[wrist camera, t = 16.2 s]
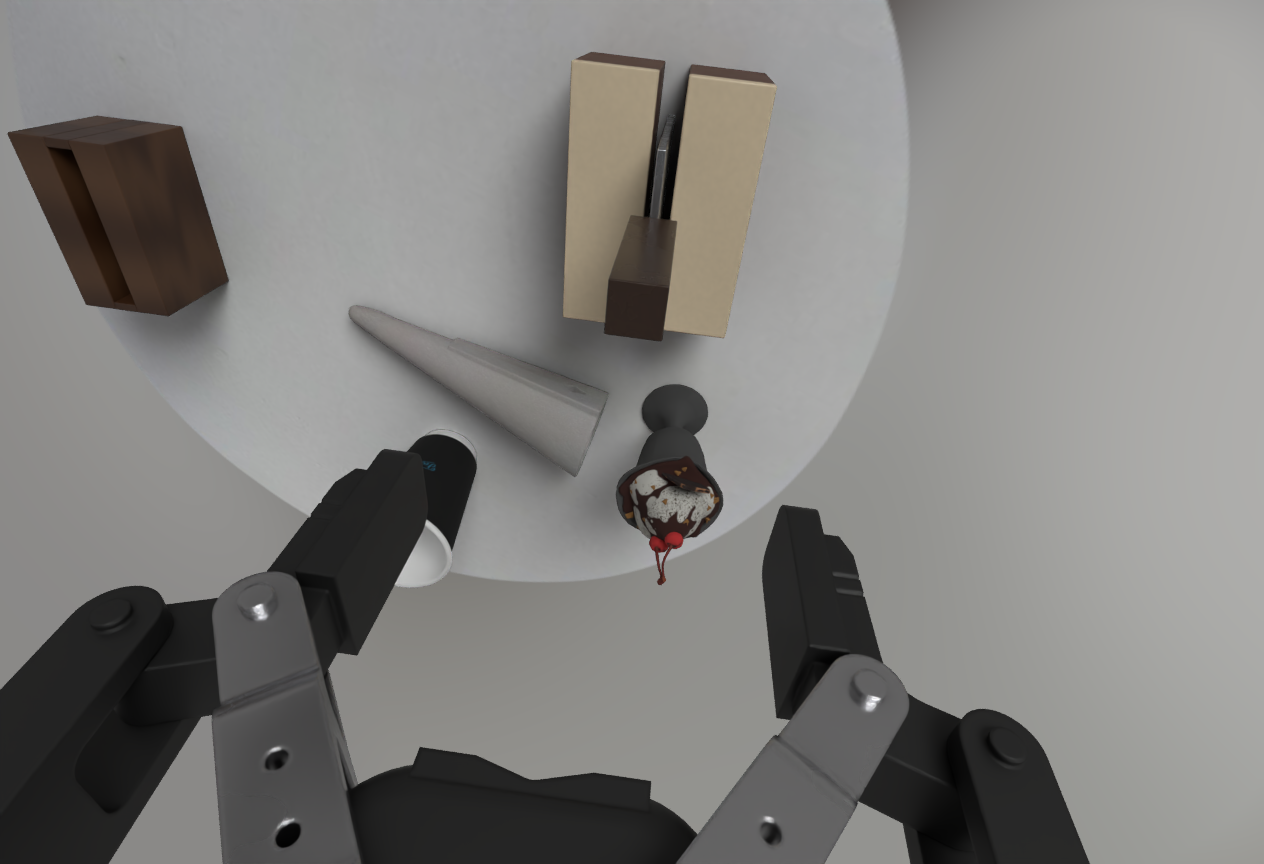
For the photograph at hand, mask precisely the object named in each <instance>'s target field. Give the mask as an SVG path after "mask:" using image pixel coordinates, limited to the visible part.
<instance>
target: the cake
mask: <svg viewBox="0 0 1264 864" xmlns="http://www.w3.org/2000/svg"><path fill="white" fill-rule="evenodd" d="M664 69H665V61H661V60H653V59H645V58H637V57H628V56H620V55H612V54H604V53H596V52H590V53H588V54H586V55H584V56H581V57H579V58H577V59H575V60H572V61H571V88H570V118H569V148H568V177H567V207H566V237H565V266H564V296H563V317H565V318H573V319H581V320H588V321H596V322H603V323H605V315H606V302H607V289H608V279H609V276H610V273H611V270H612V267H613V265H614V262H615V259H616V256H617V253H618V250H619V247H620V244H621V241H622V238H623V236H624V233H625V230H626V227H627V224H628V221H629V218H630V216H631V215H635V216H643V217H648V213H649V204H650V195H651V186H652V177H653V168H654V159H655V150H656V141H657V132H658V123H659V114H660V105H661V96H662V87H663V78H664ZM776 89H777V86H776V85H775V84H774V82H773V81H772V80H771V79H770V78H769V77H768V76H767V74H765V73H758V72H750V71H742V70H734V69H726V68H718V67H710V66H701V65H693V64H692V65H691V68H690V73H689V79H688V87H687V94H686V102H685V109H684V117H683V124H682V132H681V140H680V147H679V155H678V162H677V170H676V177H675V185H674V192H673V200H672V207H671V215H670V220H674V221H677V231H676V239H675V247H674V256H673V264H672V272H671V281H670V289H669V296H668V303H667V310H666V317H665V324H664V330H666V331H673V332H681V333H688V334H696V335H704V336H711V337H719V338H724V337H725V334H726V329H727V325H728V320H729V315H730V310H731V305H732V301H733V296H734V291H735V286H736V281H737V277H738V272H739V267H740V262H741V257H742V253H743V248H744V243H745V238H746V233H747V229H748V224H749V219H750V214H751V209H752V205H753V200H754V195H755V190H756V185H757V181H758V176H759V171H760V166H761V161H762V157H763V152H764V147H765V142H766V137H767V133H768V128H769V123H770V118H771V113H772V109H773V104H774V99H775V94H776Z"/></svg>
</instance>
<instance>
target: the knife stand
mask: <svg viewBox="0 0 1264 864" xmlns="http://www.w3.org/2000/svg"><path fill="white" fill-rule="evenodd" d="M8 136H9V138H10V140H11V142H12V145H13V147H14V149H15V151H16V154H17V156H18V158H19V160H20V162H21V164H22V166H23V169H24V171H25V173H26V175H27V177H28V180H29V182H30V184H31V186H32V188H33V190H34V193H35V195H36V197H37V199H38V201H39V203H40V206H41V208H42V210H43V212H44V214H45V216H46V219H47V221H48V223H49V225H50V227H51V229H52V232H53V233H54V236H55V238H56V240H57V243H58V244H59V246H60V249H61V251H62V253H63V255H64V258H65V260H66V262H67V264H68V266H69V269H70V271H71V273H72V275H73V277H74V279H75V282H76V284H77V286H78V288H79V290H80V292H81V295H82V297H83V299H84V301H85V303H86V305H91V306H98V307H105V308H113V309H119V310H126V311H134V312H141V313H149V314H156V315H164V316H170V315H172V314H173V313H175V312H177V311H178V310H180V309H182V308H183V307H185V306H187V305H189V304H190V303H192V302H194V301H195V300H197V299H199V298H201V297H202V296H204V295H206V294H207V293H209V292H211V291H212V290H214V289H216V288H218V287H219V286H221V285H223V284H224V283H226V282H228V281H229V280H228V277H227V273H226V270H225V267H224V263H223V260H222V257H221V254H220V250H219V247H218V244H217V241H216V237H215V234H214V231H213V227H212V224H211V221H210V218H209V214H208V211H207V208H206V204H205V201H204V198H203V195H202V191H201V188H200V185H199V182H198V178H197V175H196V172H195V168H194V165H193V162H192V159H191V155H190V152H189V149H188V145H187V142H186V139H185V136H184V132H183V129H182V127H181V126H175V125H167V124H159V123H151V122H143V121H136V120H126V119H119V118H111V117H103V116H93V117H87V118H82V119H77V120H71V121H66V122H61V123H55V124H50V125H45V126H39V127H34V128H29V129H23V130H18V131H13V132H8Z"/></svg>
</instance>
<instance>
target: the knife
mask: <svg viewBox="0 0 1264 864" xmlns="http://www.w3.org/2000/svg"><path fill="white" fill-rule="evenodd" d="M674 122H675V115H668V118H667V121H666V124H665V127H664V130H663V134H662V137H661V140H660V143H659V146H658V149H657V157H656V166H655V175H654V184H653V193H652V202H651V210H650V217H643V216H635V215H631V216H630V218H629V221H628V224H627V227H626V230H625V233H624V236H623V238H622V241H621V244H620V247H619V250H618V253H617V256H616V259H615V262H614V265H613V267H612V270H611V273H610V276H609V279H608V289H607V302H606V315H605V328H604V333H605V334H608V335H616V336H623V337H631V338H638V339H646V340H653V341H662V339H663V331H664V324H665V317H666V310H667V303H668V296H669V289H670V281H671V272H672V264H673V256H674V247H675V239H676V231H677V221H674V220H666V219H662V218H663V210H664V202H665V194H666V186H667V178H668V170H669V162H670V154H671V146H672V138H673V130H674Z"/></svg>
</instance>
